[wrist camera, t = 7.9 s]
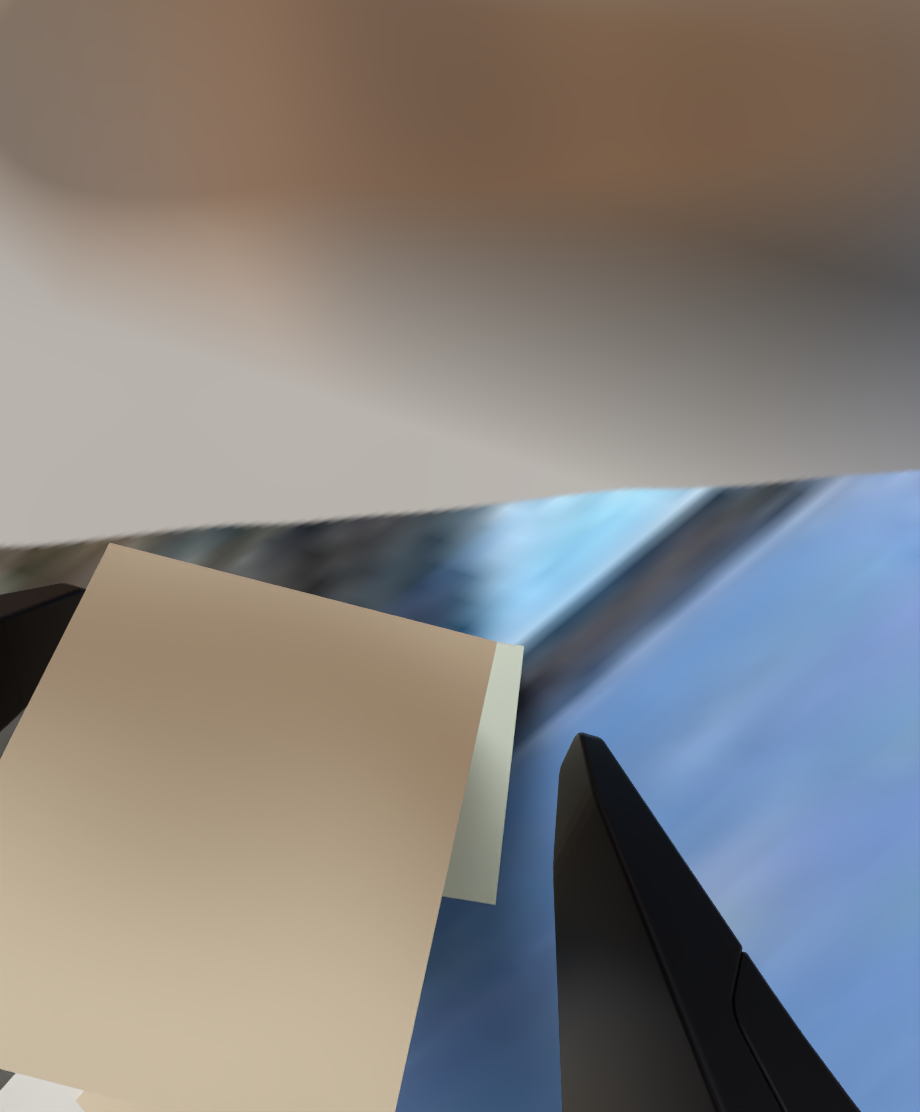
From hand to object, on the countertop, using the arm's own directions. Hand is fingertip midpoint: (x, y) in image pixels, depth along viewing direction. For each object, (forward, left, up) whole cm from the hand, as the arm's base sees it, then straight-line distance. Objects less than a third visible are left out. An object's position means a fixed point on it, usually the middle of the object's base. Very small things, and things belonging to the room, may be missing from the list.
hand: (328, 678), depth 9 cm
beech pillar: (-1, -1, -8) cm, 9 cm away
